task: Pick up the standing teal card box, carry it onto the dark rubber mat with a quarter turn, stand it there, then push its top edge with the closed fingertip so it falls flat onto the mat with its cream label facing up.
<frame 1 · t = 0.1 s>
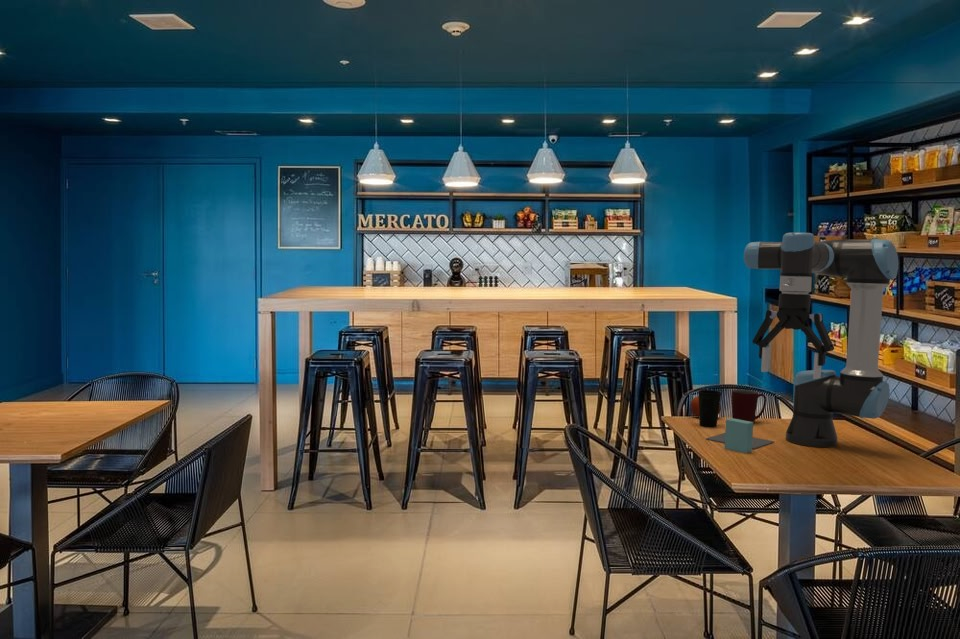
hand: (790, 374, 190), 28 cm above the table, fingers open, 13 cm apart
card box: (738, 449, 223), on the table
mug: (747, 422, 263), on the table
mat: (740, 441, 234), on the table
cup: (708, 426, 255), on the table
fruit: (705, 417, 269), on the table
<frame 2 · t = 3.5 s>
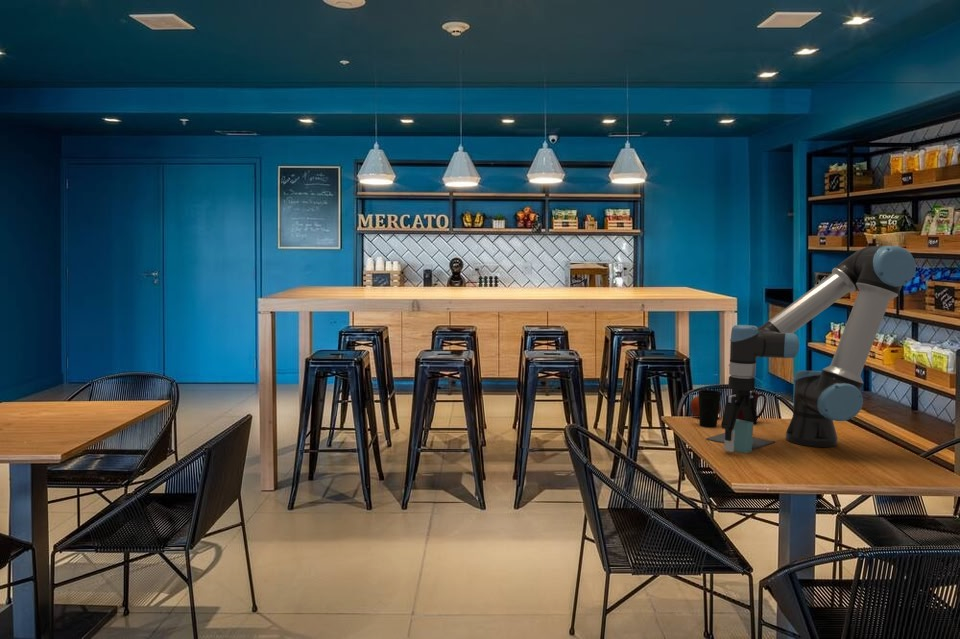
hand: (738, 447, 223), 1 cm above the table, fingers open, 11 cm apart
nothing on the table moved.
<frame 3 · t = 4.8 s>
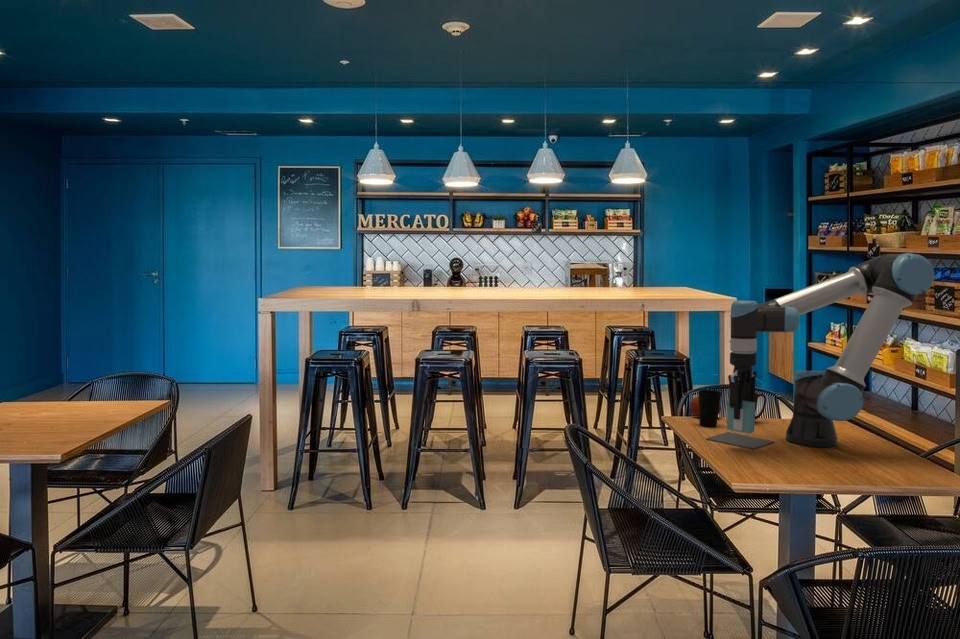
hand: (741, 428, 222), 7 cm above the table, fingers closed on card box, 4 cm apart
card box: (740, 430, 222), point 6 cm above the table, touching gripper
everything else where it was.
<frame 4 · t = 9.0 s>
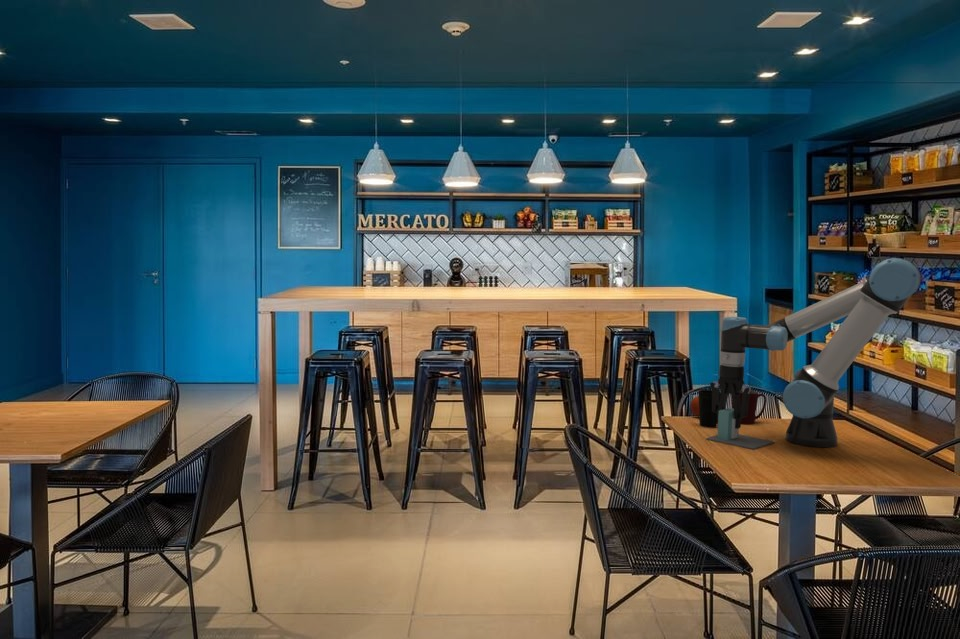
hand: (728, 436, 237), 1 cm above the table, fingers closed on card box, 4 cm apart
card box: (727, 437, 237), resting on mat, touching gripper
everything else where it was.
when the fingers open (1 cm above the table, at t = 9.0 s): card box moves 2 cm and tips over, resting on mat.
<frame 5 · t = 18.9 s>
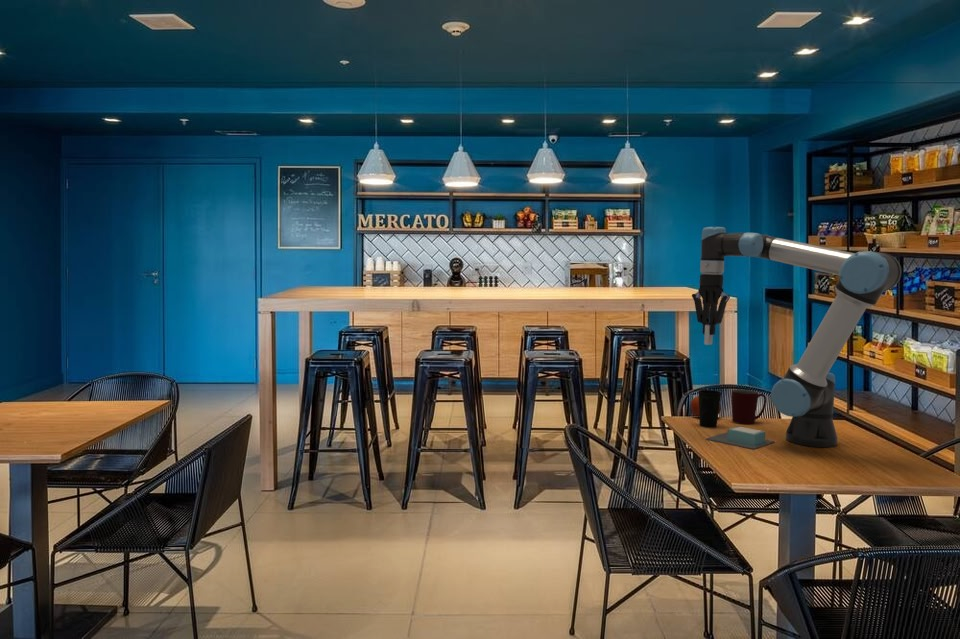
hand: (708, 344, 245), 29 cm above the table, fingers closed
card box: (733, 433, 235), point 2 cm above the table, tilted 90°, touching mat
everything else where it was.
at the end: card box tilted 90°; card box inside the target area on the mat (2.3 cm from its centre), point 2.1 cm above the mat's base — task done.
